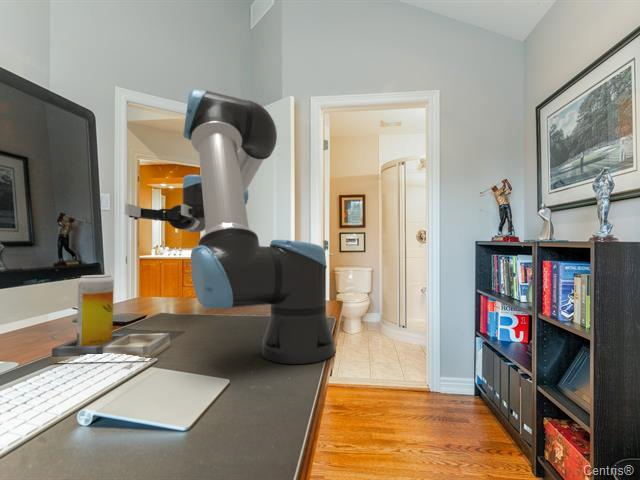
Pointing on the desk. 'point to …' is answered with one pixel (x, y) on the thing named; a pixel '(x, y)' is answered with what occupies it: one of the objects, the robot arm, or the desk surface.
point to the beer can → (95, 310)
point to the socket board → (116, 346)
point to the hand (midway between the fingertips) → (154, 209)
